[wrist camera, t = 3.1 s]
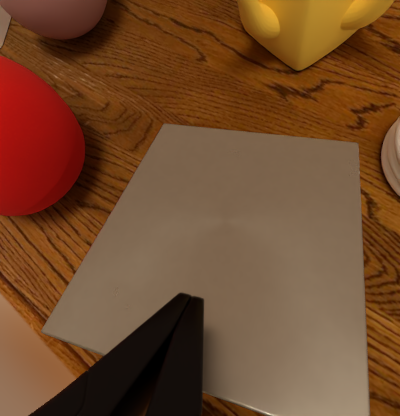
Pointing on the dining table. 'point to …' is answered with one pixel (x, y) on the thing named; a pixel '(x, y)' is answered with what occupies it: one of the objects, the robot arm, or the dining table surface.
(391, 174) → the cream thick disc
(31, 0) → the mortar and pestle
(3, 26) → the basket
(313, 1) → the teapot
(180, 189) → the bin lid
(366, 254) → the dining table surface
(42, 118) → the tomato
